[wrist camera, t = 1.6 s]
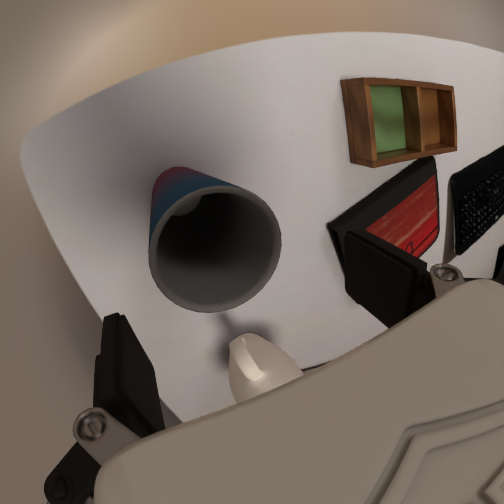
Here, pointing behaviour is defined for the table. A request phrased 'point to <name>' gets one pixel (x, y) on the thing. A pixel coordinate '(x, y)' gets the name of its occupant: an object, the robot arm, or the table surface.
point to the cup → (210, 241)
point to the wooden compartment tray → (398, 120)
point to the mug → (258, 367)
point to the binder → (397, 211)
